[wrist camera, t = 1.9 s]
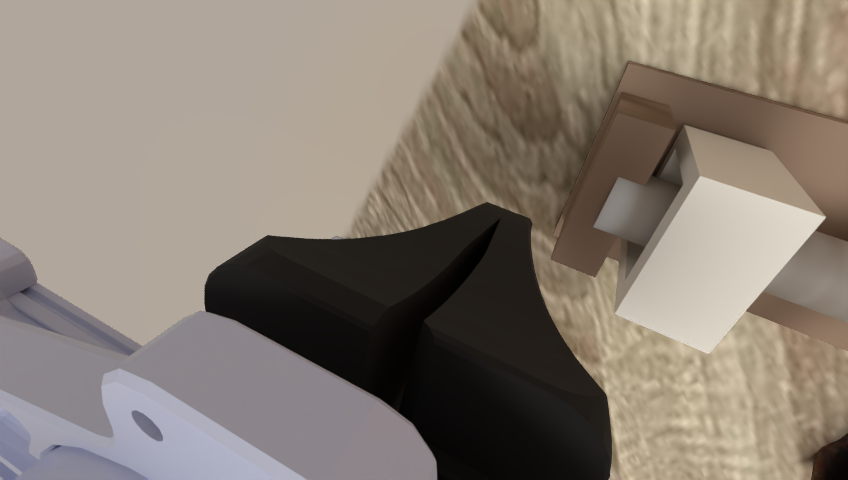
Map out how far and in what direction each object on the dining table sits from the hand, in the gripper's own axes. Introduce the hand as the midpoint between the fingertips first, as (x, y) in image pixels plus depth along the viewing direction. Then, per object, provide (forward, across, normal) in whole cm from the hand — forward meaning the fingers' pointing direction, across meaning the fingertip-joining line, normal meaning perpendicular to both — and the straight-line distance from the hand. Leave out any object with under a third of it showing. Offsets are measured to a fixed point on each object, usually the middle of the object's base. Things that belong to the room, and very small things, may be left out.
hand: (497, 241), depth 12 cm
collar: (+9, -6, 0) cm, 10 cm away
